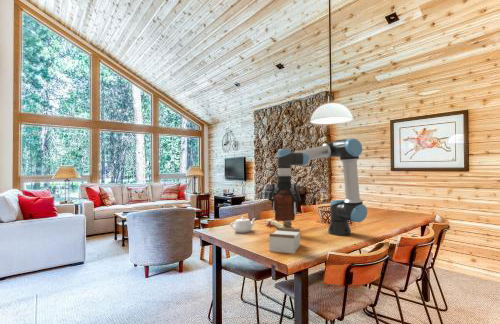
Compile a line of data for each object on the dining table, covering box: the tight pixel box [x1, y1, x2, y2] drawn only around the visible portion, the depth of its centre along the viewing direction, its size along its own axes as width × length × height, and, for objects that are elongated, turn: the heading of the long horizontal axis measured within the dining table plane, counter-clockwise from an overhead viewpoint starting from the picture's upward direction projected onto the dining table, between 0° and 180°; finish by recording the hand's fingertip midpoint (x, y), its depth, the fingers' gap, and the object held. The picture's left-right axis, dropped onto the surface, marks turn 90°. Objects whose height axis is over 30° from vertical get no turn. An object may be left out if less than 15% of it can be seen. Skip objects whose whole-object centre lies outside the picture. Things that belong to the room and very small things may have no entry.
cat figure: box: [264, 218, 284, 228], centre depth 216 cm, size 10×9×25 cm
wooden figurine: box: [273, 190, 296, 222], centre depth 162 cm, size 12×6×18 cm, turn 105°
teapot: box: [229, 216, 257, 234], centre depth 204 cm, size 22×14×11 cm, turn 124°
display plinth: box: [268, 226, 301, 254], centre depth 162 cm, size 14×18×10 cm
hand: (284, 213), depth 162 cm, fingers closed on wooden figurine, 11 cm apart
